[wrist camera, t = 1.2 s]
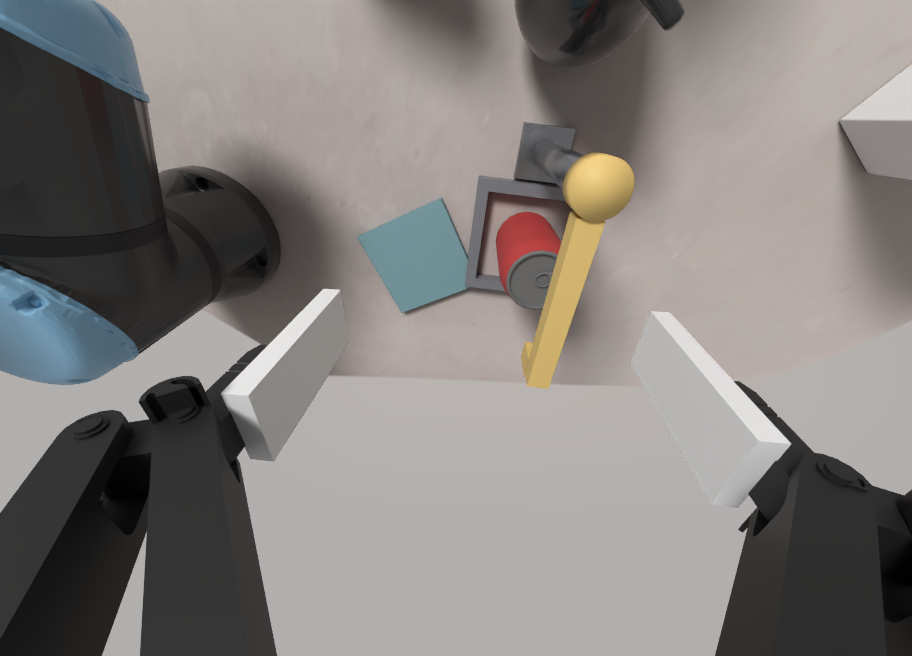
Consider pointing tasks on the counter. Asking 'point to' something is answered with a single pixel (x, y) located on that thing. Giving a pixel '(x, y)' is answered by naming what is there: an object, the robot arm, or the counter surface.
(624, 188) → the clip arm
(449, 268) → the mat
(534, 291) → the beer can
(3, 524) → the robot arm
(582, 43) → the pump dispenser
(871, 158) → the milk carton
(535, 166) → the post
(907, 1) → the counter surface
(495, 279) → the collar
